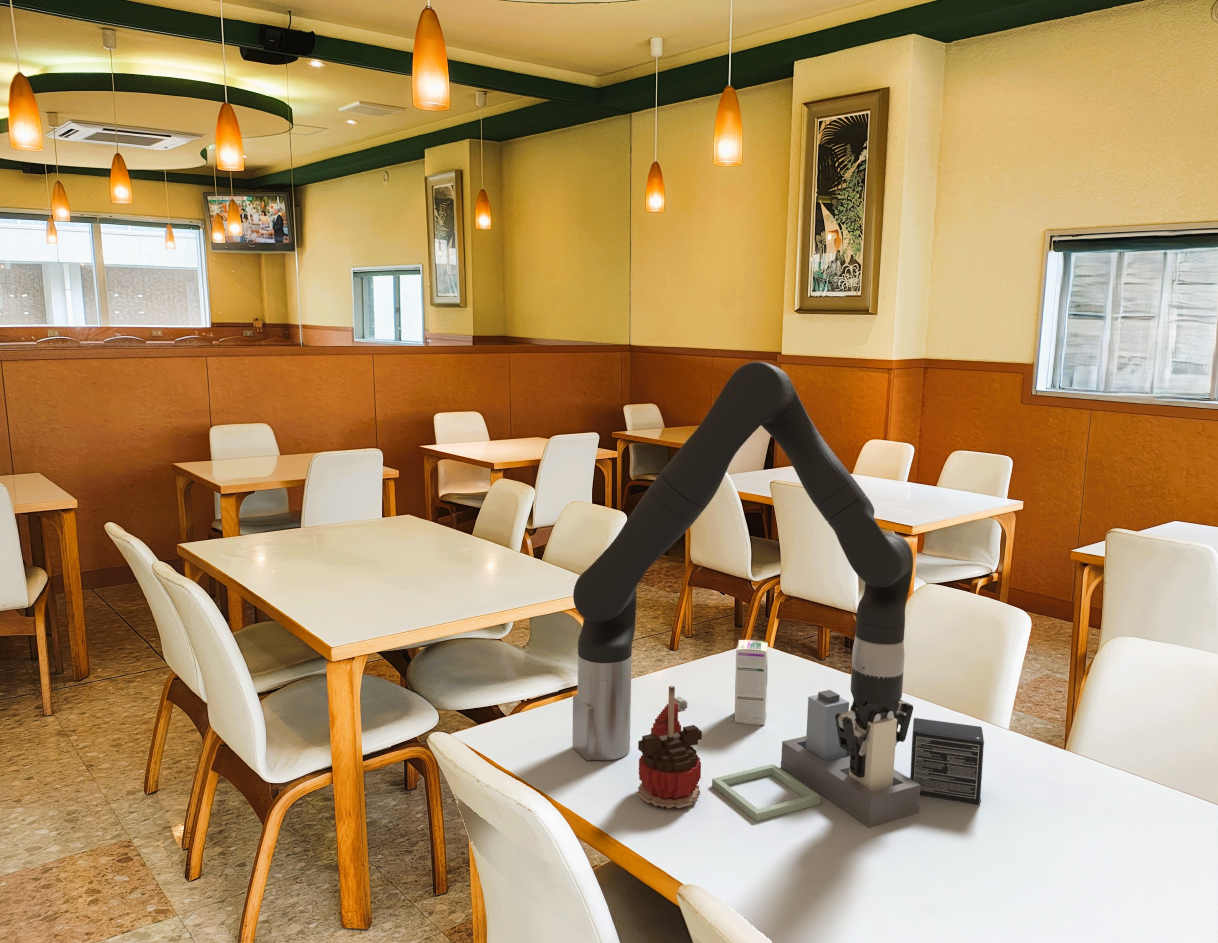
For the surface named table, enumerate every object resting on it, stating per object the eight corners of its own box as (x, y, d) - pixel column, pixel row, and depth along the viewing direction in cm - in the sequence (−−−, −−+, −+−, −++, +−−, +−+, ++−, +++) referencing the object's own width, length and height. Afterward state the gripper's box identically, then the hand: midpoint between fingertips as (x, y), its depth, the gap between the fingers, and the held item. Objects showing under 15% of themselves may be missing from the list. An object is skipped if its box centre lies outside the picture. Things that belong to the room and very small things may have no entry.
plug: (869, 800, 136) (874, 718, 135) (848, 786, 140) (853, 707, 139) (892, 793, 139) (897, 713, 137) (870, 780, 143) (875, 702, 141)
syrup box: (765, 726, 168) (768, 650, 166) (733, 722, 169) (735, 648, 167) (766, 713, 173) (769, 640, 171) (735, 710, 174) (737, 638, 172)
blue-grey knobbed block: (823, 777, 146) (827, 701, 144) (805, 765, 150) (808, 690, 148) (845, 771, 148) (849, 696, 146) (826, 760, 152) (830, 686, 150)
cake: (654, 818, 135) (657, 703, 132) (624, 790, 143) (626, 681, 140) (714, 802, 140) (718, 691, 137) (682, 776, 148) (685, 671, 145)
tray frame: (756, 821, 134) (756, 813, 134) (711, 785, 145) (712, 778, 145) (820, 803, 140) (820, 796, 139) (772, 770, 150) (773, 763, 150)
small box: (978, 786, 146) (983, 725, 144) (980, 805, 140) (985, 741, 138) (909, 775, 149) (913, 715, 148) (908, 793, 143) (913, 731, 142)
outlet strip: (868, 827, 133) (870, 798, 132) (780, 767, 152) (781, 741, 151) (918, 812, 137) (920, 784, 137) (827, 755, 156) (828, 730, 155)
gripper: (858, 681, 130) (851, 792, 133) (931, 667, 137) (923, 773, 139) (824, 664, 137) (818, 770, 139) (895, 651, 143) (888, 753, 146)
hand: (871, 771), depth 139 cm, fingers open, 4 cm apart
